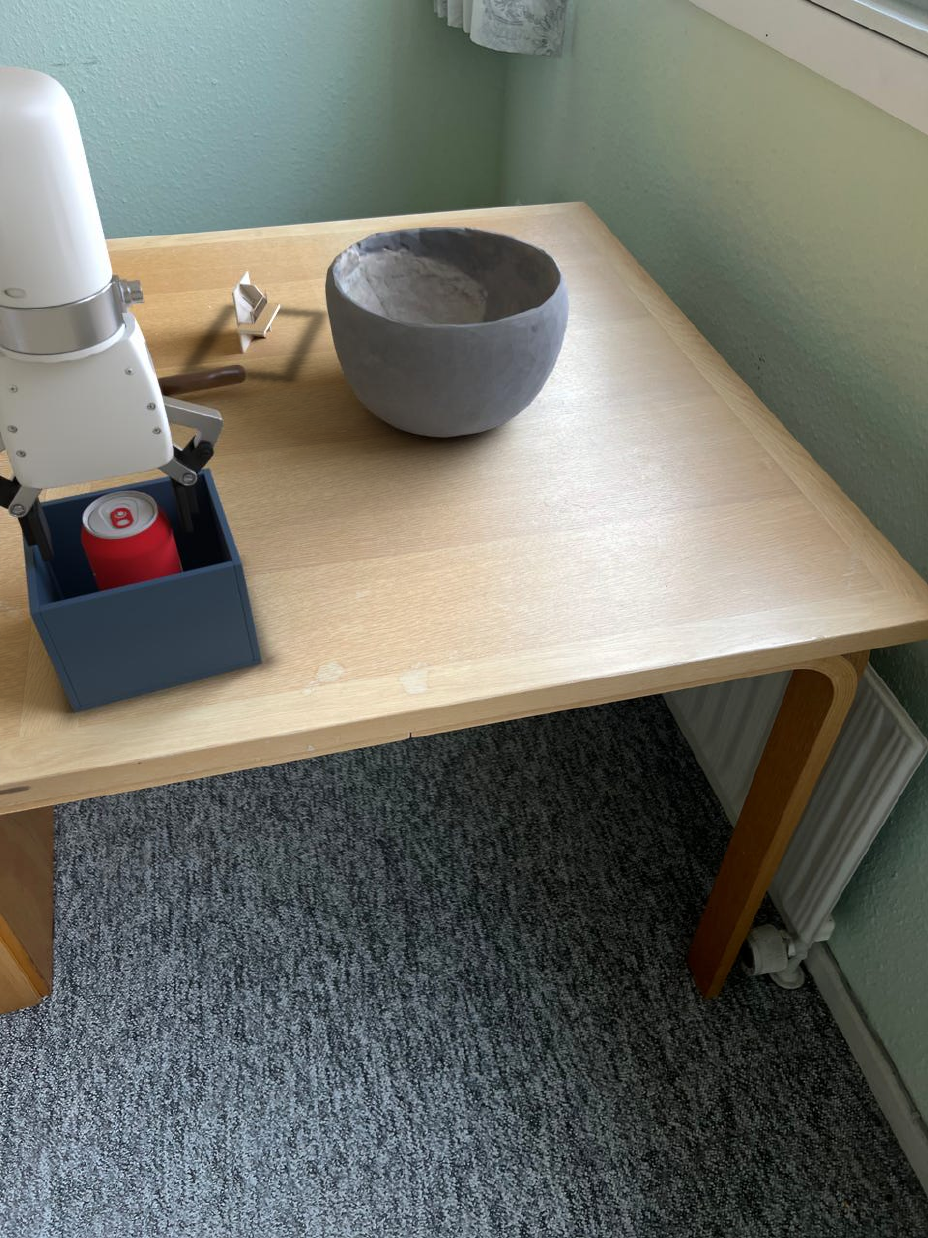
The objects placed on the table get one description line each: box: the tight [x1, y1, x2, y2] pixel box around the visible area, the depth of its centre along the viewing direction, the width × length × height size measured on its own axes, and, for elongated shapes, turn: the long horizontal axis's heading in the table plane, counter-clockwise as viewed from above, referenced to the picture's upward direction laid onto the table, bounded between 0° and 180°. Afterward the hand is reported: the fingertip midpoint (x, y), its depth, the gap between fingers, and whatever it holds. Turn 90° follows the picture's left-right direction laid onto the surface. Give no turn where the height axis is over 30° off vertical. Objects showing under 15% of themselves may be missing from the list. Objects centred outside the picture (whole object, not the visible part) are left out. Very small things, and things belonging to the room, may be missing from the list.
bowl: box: [324, 226, 570, 438], centre depth 94 cm, size 24×24×15 cm
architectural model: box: [231, 270, 281, 354], centre depth 105 cm, size 3×7×7 cm, turn 173°
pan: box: [157, 364, 248, 397], centre depth 97 cm, size 20×11×3 cm, turn 112°
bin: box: [21, 467, 263, 714], centre depth 71 cm, size 14×12×11 cm
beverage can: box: [81, 491, 183, 591], centre depth 70 cm, size 6×6×12 cm
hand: (118, 534), depth 67 cm, fingers open, 9 cm apart
